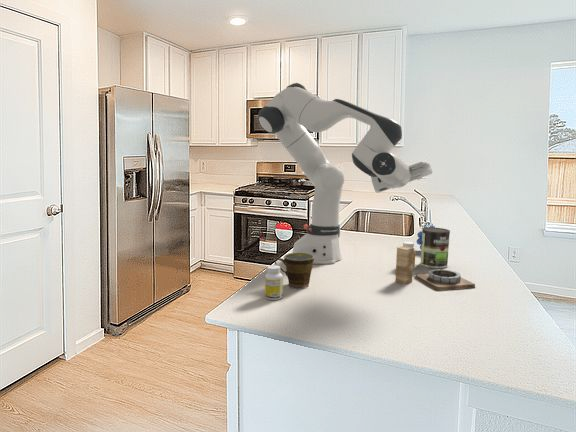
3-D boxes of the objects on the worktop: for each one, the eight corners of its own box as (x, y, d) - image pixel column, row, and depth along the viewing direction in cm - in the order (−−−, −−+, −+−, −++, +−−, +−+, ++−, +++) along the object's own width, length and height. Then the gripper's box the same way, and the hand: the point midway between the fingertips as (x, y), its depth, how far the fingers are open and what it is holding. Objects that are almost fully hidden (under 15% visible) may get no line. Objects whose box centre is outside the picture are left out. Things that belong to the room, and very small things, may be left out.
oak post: (405, 284, 149) (406, 249, 147) (395, 281, 152) (397, 247, 150) (412, 281, 152) (413, 248, 150) (402, 279, 155) (404, 245, 153)
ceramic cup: (312, 280, 152) (312, 252, 150) (315, 290, 142) (315, 260, 141) (274, 281, 152) (274, 252, 150) (274, 290, 142) (274, 260, 140)
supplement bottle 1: (273, 293, 139) (273, 263, 137) (286, 297, 136) (286, 266, 134) (261, 298, 135) (261, 267, 133) (274, 302, 132) (274, 270, 130)
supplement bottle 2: (417, 267, 169) (418, 242, 168) (409, 270, 166) (411, 245, 164) (404, 264, 173) (406, 240, 172) (397, 267, 170) (398, 242, 168)
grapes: (445, 252, 193) (447, 225, 191) (437, 255, 188) (439, 227, 186) (421, 248, 201) (422, 222, 199) (413, 250, 196) (414, 224, 195)
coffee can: (453, 267, 170) (455, 231, 167) (429, 269, 167) (432, 232, 165) (437, 260, 179) (439, 226, 177) (415, 262, 177) (417, 227, 174)
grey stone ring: (439, 284, 145) (439, 278, 144) (422, 275, 154) (423, 270, 154) (466, 282, 147) (466, 276, 147) (448, 274, 157) (449, 268, 156)
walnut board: (437, 290, 143) (437, 287, 142) (415, 277, 156) (415, 274, 156) (474, 287, 146) (475, 284, 146) (450, 275, 159) (450, 272, 159)
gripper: (424, 153, 143) (432, 163, 155) (366, 175, 151) (378, 183, 163) (430, 171, 141) (438, 179, 153) (371, 192, 150) (382, 198, 162)
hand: (406, 181), depth 158 cm, fingers open, 8 cm apart
